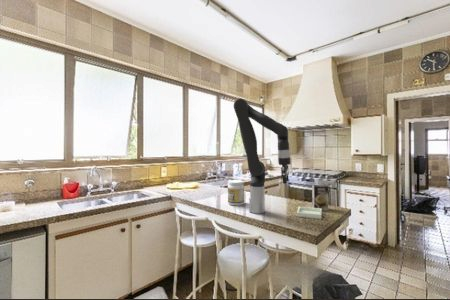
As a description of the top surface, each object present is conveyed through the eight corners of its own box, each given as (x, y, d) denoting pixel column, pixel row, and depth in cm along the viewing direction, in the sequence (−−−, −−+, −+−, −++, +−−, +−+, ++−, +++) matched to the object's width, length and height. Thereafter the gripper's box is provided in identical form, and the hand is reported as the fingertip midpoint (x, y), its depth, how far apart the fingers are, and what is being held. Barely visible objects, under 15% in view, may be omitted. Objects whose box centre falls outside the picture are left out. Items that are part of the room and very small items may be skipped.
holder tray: (296, 216, 144) (296, 212, 144) (298, 210, 157) (298, 206, 157) (321, 219, 139) (321, 214, 139) (321, 212, 152) (321, 208, 152)
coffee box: (314, 210, 156) (314, 186, 155) (311, 207, 162) (311, 184, 162) (328, 211, 155) (328, 186, 154) (325, 208, 161) (325, 184, 161)
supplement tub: (224, 203, 176) (224, 181, 176) (235, 200, 185) (235, 179, 184) (236, 207, 168) (236, 183, 167) (247, 203, 176) (247, 181, 176)
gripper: (280, 156, 159) (281, 180, 159) (276, 158, 146) (278, 184, 146) (291, 156, 156) (293, 180, 156) (288, 157, 143) (290, 184, 143)
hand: (285, 182), depth 151 cm, fingers open, 8 cm apart
